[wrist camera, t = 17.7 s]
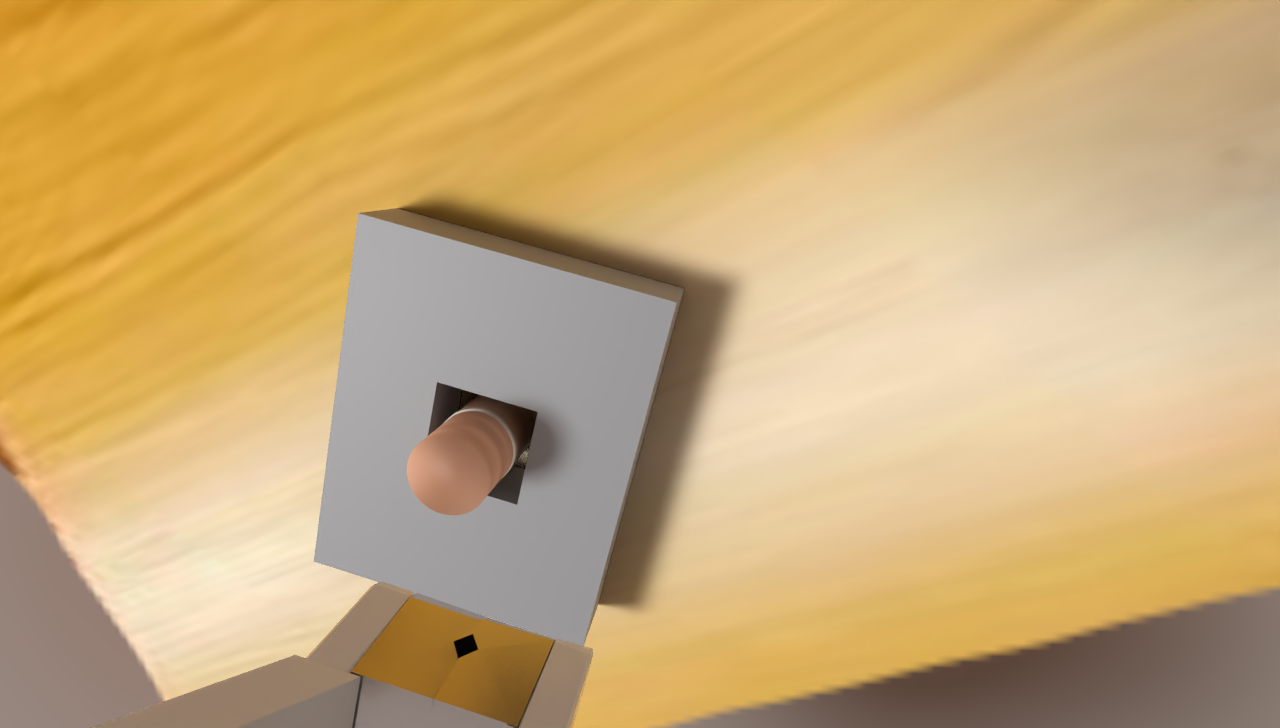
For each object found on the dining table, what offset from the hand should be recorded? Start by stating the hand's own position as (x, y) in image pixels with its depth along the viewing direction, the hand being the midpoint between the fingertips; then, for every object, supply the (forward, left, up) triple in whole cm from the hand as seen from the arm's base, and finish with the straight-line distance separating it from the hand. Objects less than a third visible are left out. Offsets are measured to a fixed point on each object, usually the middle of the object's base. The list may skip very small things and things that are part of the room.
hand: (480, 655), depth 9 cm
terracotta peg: (+8, +10, -29) cm, 32 cm away
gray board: (+8, +10, -29) cm, 32 cm away
